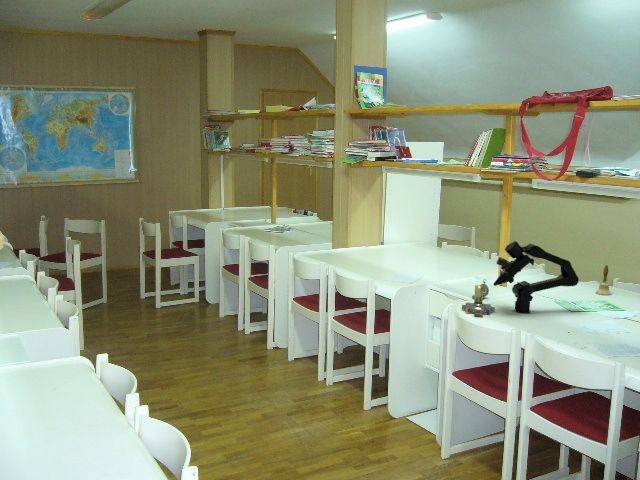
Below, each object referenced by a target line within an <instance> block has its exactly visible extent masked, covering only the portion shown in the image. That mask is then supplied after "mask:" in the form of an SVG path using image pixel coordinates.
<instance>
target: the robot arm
mask: <svg viewBox="0 0 640 480" xmlns="http://www.w3.org/2000/svg"><path fill="white" fill-rule="evenodd" d="M504 251H505V252H506V253H507V254H508V255H509V256H510V257H511V258H512V259H514V260H510V261H508V260H507V259H506V258H503V257H500V256H499V257H498V259H497V261H496V265H498V266H500V270H499V275H498V277H497V278H496V279H495V281H494V282H493V286H499V285H502V284H506V283H509V284H512V283H514V281H515V277H516V276H517V274H518V273H521V272H522V270H523V269H524V268H525V267H526V266H528V265H529V264H531V265H532V266H534V265H535V263H534V262H535V259H534V258H536V259H540V260H545V261H548V262H549V263H550V262H551V263H553V264H555V265H558V266H559V267H560V275H558V276H557V277H552V278H550V279H549V278H548V279H545V280H540V281H537V282H536V281H535V282H532V283H530V282H529V281H526V280H523V281H519V282H518V281H517V282H516V283H515V284H513V286H512V288H511V291H512V293H513V295H514V298H516V300H515V301H514V311H515V312H516V313H519V314H520V313H523V314H530V313H531V311H530V308H531V302H532V301H533V298H534V297H533V295H532V294H534V293H537V292H541V291H544V290H549V289H550V290H551V289H554V288H557V287H558V288H559V287H575V286H577V285H578V283H579V281H580V280H579V276H578V275H577V274H576V271H575V269H574V267H573V266H572V263H571V261H570V260H568V259H565V258H561V257H559V256H558V255H557V256H556V255H555V254H553V253H549V252H547V251H546V250H544V249H543V248H542V247H540V246H538V245H536V244H534V243H528V244H527V245H524V246H521V245H520V244H519V243H518V241H516V240H514V241H512V242H510V243H509V244H507V245H506V246H505V247H504ZM531 257H532V258H531Z"/></svg>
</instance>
